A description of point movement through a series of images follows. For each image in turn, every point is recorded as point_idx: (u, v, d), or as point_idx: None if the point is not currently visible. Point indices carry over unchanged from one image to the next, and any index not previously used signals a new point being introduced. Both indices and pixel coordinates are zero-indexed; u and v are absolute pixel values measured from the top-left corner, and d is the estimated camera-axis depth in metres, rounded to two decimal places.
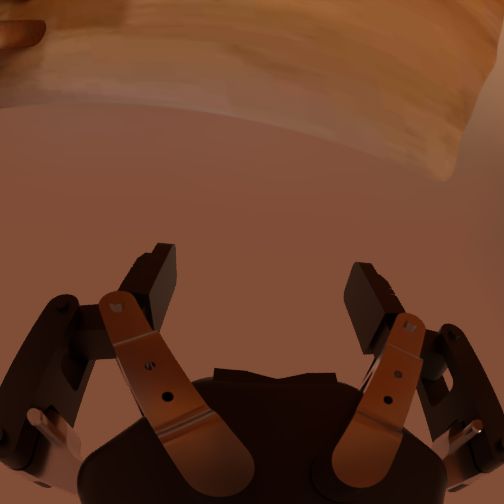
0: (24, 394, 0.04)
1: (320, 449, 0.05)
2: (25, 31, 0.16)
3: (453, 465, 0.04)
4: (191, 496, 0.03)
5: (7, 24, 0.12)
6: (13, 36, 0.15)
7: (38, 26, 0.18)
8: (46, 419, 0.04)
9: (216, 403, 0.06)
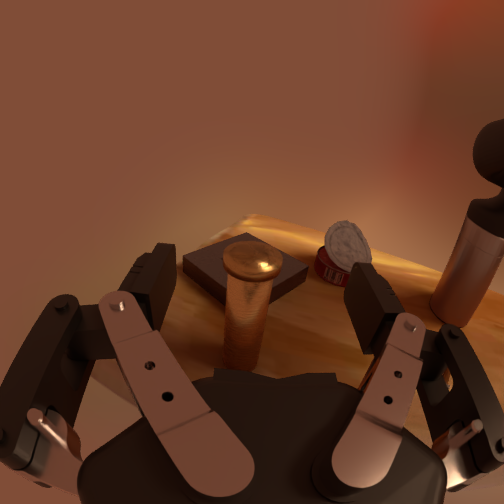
0: (24, 394, 0.04)
1: (320, 449, 0.05)
2: (260, 342, 0.28)
3: (453, 465, 0.04)
4: (191, 496, 0.03)
5: None
6: (259, 332, 0.27)
7: None
8: (46, 419, 0.04)
9: (216, 403, 0.06)
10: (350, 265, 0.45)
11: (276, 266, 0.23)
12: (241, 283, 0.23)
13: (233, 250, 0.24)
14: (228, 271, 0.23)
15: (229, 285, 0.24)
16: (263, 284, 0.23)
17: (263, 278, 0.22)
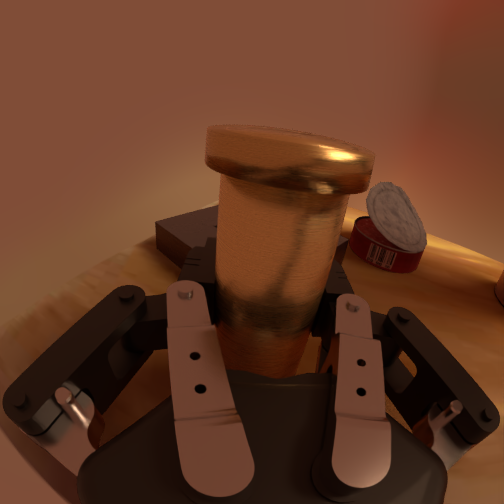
0: (60, 372, 0.05)
1: (312, 459, 0.04)
2: None
3: (443, 448, 0.05)
4: (182, 485, 0.04)
5: None
6: (298, 356, 0.11)
7: None
8: (74, 401, 0.05)
9: None
10: (403, 241, 0.29)
11: (367, 154, 0.07)
12: (261, 206, 0.07)
13: (236, 127, 0.08)
14: (219, 164, 0.07)
15: (223, 223, 0.08)
16: (329, 211, 0.07)
17: (338, 181, 0.06)
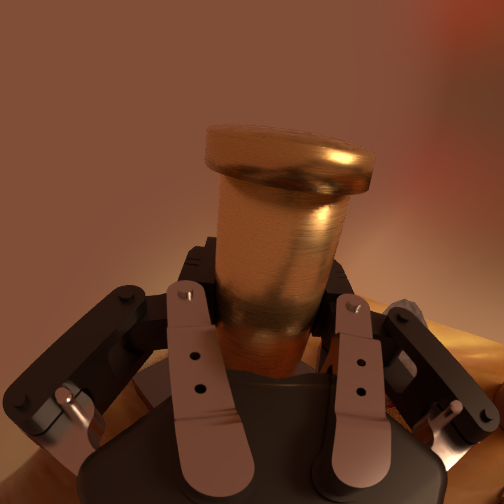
0: (60, 372, 0.05)
1: (312, 459, 0.04)
2: (294, 375, 0.12)
3: (443, 448, 0.05)
4: (183, 485, 0.04)
5: None
6: (298, 356, 0.11)
7: None
8: (74, 401, 0.05)
9: None
10: None
11: (368, 154, 0.07)
12: (261, 206, 0.07)
13: (236, 127, 0.08)
14: (219, 164, 0.07)
15: (222, 224, 0.08)
16: (329, 212, 0.07)
17: (339, 181, 0.06)
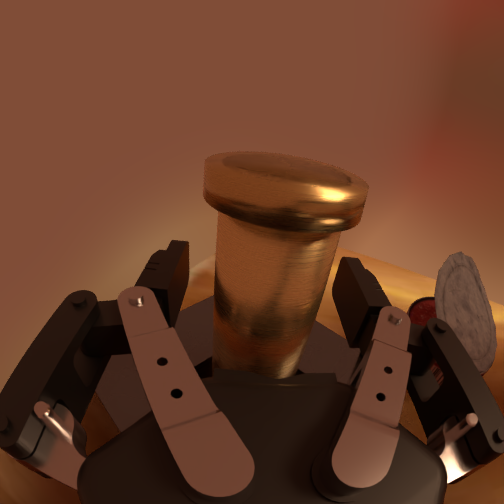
0: (33, 387, 0.04)
1: (317, 452, 0.05)
2: None
3: (451, 460, 0.04)
4: (188, 493, 0.03)
5: None
6: (293, 371, 0.11)
7: None
8: (53, 413, 0.04)
9: (216, 403, 0.06)
10: (475, 355, 0.15)
11: (360, 189, 0.07)
12: (257, 241, 0.07)
13: (233, 158, 0.09)
14: (217, 201, 0.07)
15: (221, 253, 0.09)
16: (321, 245, 0.08)
17: (330, 220, 0.07)
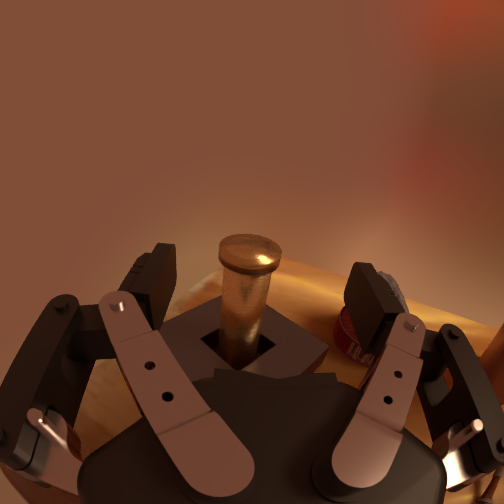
0: (24, 394, 0.04)
1: (320, 449, 0.05)
2: (257, 342, 0.27)
3: (453, 465, 0.04)
4: (191, 496, 0.03)
5: None
6: (257, 331, 0.25)
7: None
8: (46, 419, 0.04)
9: (216, 403, 0.06)
10: None
11: (274, 258, 0.21)
12: (237, 276, 0.22)
13: (229, 242, 0.23)
14: (224, 263, 0.21)
15: (225, 279, 0.23)
16: (261, 278, 0.22)
17: (261, 271, 0.21)
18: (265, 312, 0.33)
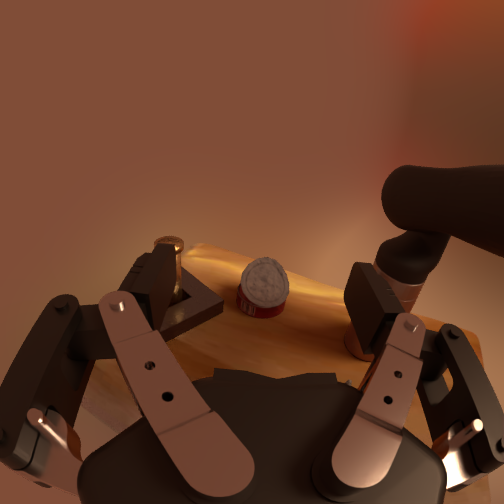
0: (24, 394, 0.04)
1: (320, 449, 0.05)
2: (179, 293, 0.50)
3: (453, 465, 0.04)
4: (191, 496, 0.03)
5: None
6: (176, 286, 0.48)
7: None
8: (46, 419, 0.04)
9: (216, 403, 0.06)
10: (262, 299, 0.53)
11: (177, 248, 0.45)
12: None
13: (160, 240, 0.46)
14: None
15: None
16: None
17: None
18: (191, 280, 0.56)
